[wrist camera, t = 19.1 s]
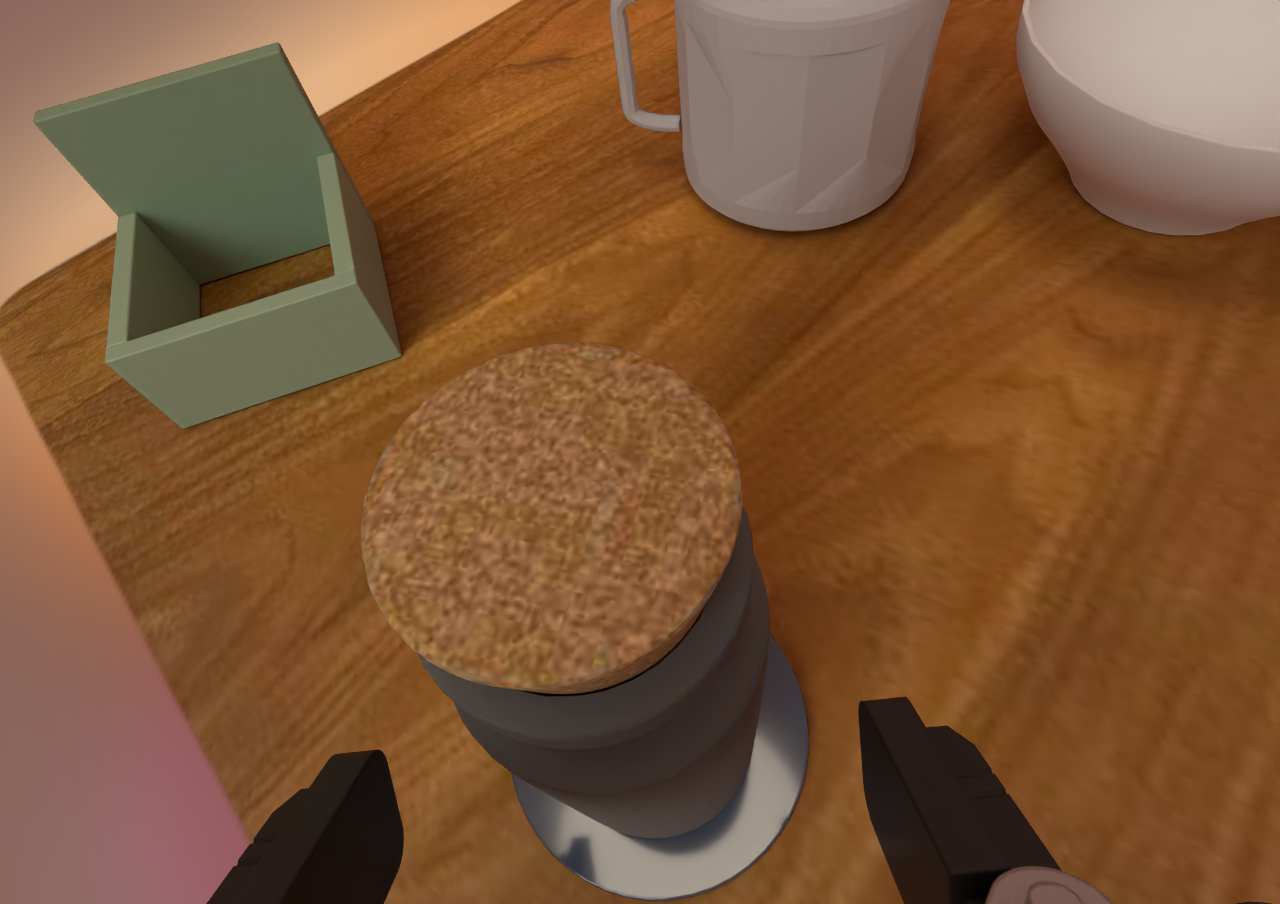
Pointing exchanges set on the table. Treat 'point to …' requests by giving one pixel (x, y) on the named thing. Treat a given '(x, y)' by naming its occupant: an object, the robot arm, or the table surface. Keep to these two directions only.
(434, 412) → the bottle
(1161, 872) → the table surface
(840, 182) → the mug
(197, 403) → the holder
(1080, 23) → the bowl
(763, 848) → the coaster
